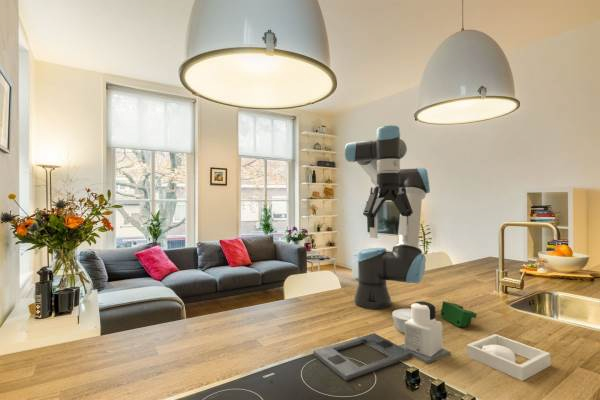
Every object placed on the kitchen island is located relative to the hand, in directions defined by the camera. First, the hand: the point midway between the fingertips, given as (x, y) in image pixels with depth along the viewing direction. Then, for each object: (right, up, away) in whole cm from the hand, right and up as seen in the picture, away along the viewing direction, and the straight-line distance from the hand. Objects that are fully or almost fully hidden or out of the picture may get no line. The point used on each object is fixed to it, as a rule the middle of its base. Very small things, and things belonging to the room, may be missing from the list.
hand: (389, 236), depth 105 cm
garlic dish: (+26, -31, -20) cm, 46 cm away
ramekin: (+7, -32, +2) cm, 33 cm away
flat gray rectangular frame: (-12, -32, -16) cm, 38 cm away
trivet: (+6, -32, -14) cm, 35 cm away
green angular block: (+27, -32, +7) cm, 42 cm away
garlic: (+24, -32, -19) cm, 44 cm away
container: (+6, -31, -14) cm, 35 cm away
